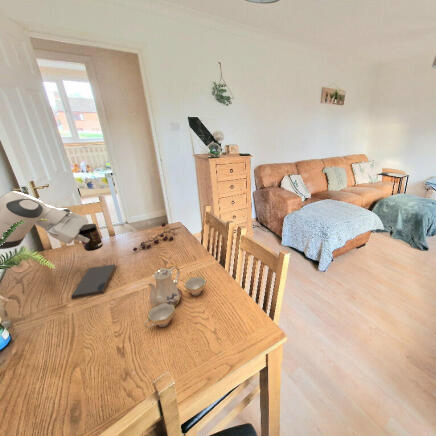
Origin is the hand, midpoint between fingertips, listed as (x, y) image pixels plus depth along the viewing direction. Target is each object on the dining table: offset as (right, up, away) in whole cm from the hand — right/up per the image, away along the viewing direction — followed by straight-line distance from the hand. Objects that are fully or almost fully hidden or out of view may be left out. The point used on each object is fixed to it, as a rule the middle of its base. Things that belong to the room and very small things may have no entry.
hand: (91, 236), depth 105 cm
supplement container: (0, -5, +2) cm, 6 cm away
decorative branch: (+11, -6, +34) cm, 36 cm away
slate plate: (+3, -19, -1) cm, 20 cm away
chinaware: (+42, -26, -11) cm, 51 cm away
